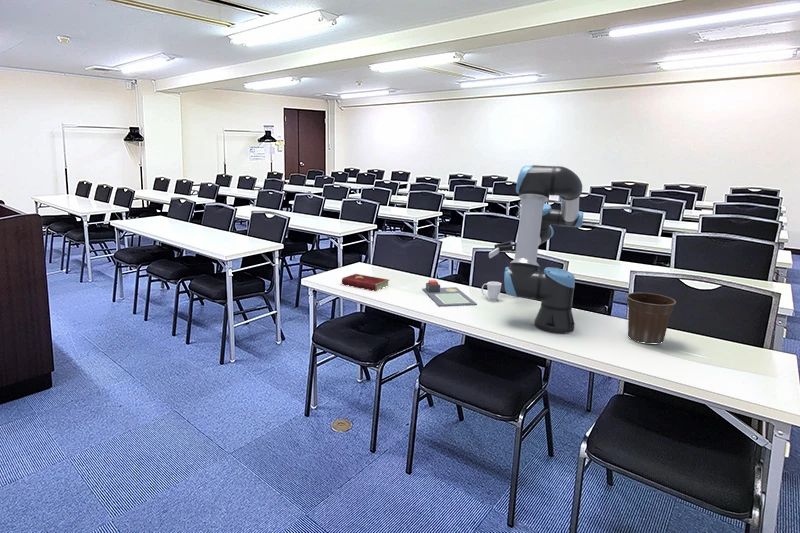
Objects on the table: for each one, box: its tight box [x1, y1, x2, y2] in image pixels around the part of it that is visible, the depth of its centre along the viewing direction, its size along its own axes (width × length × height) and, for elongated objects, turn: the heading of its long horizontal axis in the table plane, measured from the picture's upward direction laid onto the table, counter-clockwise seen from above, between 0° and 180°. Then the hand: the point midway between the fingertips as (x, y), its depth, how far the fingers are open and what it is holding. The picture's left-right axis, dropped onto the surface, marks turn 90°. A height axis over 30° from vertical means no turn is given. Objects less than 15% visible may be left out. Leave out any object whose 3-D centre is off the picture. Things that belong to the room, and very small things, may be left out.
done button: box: [428, 279, 439, 285], centre depth 234 cm, size 4×4×3 cm
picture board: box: [421, 286, 478, 308], centre depth 227 cm, size 28×18×1 cm, turn 13°
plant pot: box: [626, 292, 677, 344], centre depth 178 cm, size 16×16×16 cm
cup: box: [481, 281, 502, 302], centre depth 225 cm, size 7×10×8 cm
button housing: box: [425, 282, 441, 293], centre depth 234 cm, size 6×6×4 cm
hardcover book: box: [341, 273, 390, 292], centre depth 243 cm, size 12×21×4 cm, turn 59°
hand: (500, 260), depth 219 cm, fingers open, 13 cm apart
